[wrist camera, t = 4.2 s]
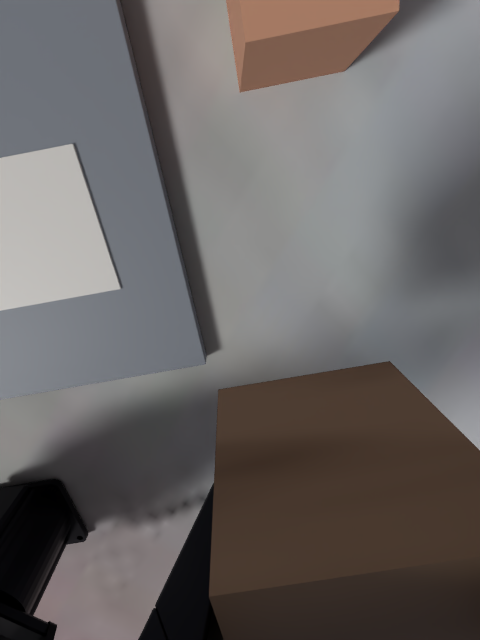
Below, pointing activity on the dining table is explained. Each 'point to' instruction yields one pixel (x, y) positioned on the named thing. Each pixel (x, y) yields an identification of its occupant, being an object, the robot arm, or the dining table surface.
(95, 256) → the board
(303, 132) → the dining table surface
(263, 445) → the walnut cube
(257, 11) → the terracotta cube
